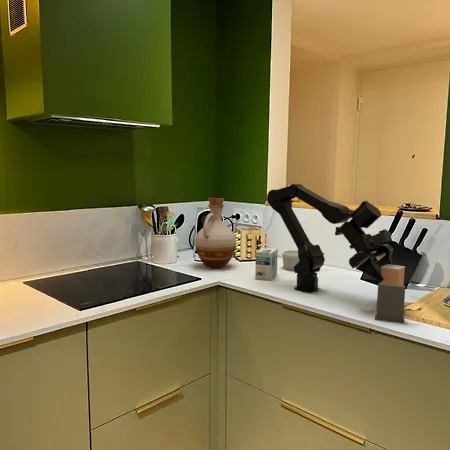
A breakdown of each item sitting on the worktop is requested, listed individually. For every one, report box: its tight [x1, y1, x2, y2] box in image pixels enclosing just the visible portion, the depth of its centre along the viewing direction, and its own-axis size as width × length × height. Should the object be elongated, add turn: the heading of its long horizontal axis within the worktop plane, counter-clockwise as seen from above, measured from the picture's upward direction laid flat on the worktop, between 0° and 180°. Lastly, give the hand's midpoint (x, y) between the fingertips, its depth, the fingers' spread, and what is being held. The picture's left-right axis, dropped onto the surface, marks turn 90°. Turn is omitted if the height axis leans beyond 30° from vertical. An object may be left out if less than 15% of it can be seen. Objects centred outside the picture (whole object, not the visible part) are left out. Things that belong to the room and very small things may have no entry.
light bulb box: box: [254, 247, 279, 281], centre depth 164 cm, size 11×7×11 cm, turn 161°
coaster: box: [404, 301, 414, 308], centre depth 129 cm, size 7×7×1 cm
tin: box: [380, 264, 406, 286], centre depth 125 cm, size 5×5×13 cm
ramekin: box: [281, 249, 300, 272], centre depth 179 cm, size 13×13×7 cm
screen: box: [374, 282, 406, 325], centre depth 116 cm, size 8×3×10 cm, turn 67°
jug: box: [194, 197, 237, 270], centre depth 178 cm, size 20×18×30 cm
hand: (389, 278), depth 125 cm, fingers open, 9 cm apart
